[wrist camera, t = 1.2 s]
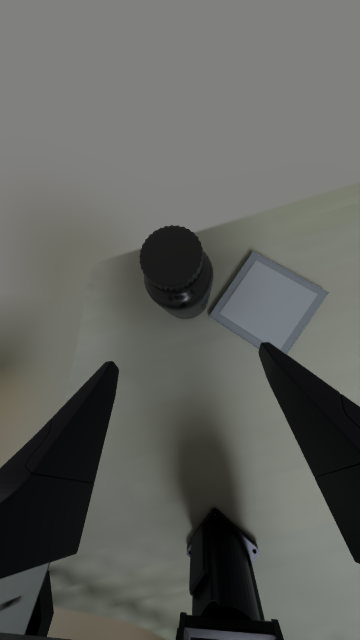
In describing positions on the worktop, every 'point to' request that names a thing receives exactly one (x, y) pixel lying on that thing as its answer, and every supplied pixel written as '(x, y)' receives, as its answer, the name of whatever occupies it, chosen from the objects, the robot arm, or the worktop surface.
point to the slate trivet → (268, 304)
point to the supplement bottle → (177, 271)
